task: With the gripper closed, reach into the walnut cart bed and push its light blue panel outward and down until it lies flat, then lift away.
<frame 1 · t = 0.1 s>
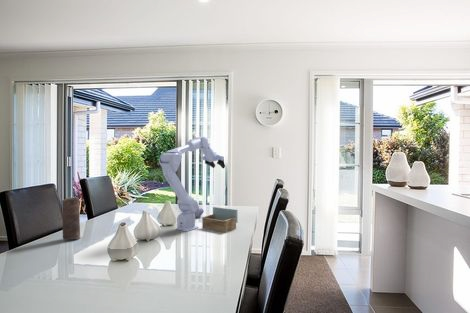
hand: (219, 167, 189), 32 cm above the table, tool tilted 50°, fingers open, 7 cm apart
flower: (195, 218, 193), on the table
light blue panel: (224, 214, 171), point 6 cm above the table, hinge at 0.0°
cart bed: (219, 228, 166), on the table
candle: (71, 239, 147), on the table
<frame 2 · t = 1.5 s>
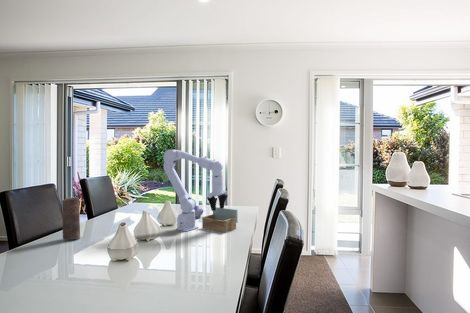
hand: (217, 209, 165), 11 cm above the table, tool pointing down, fingers open, 7 cm apart
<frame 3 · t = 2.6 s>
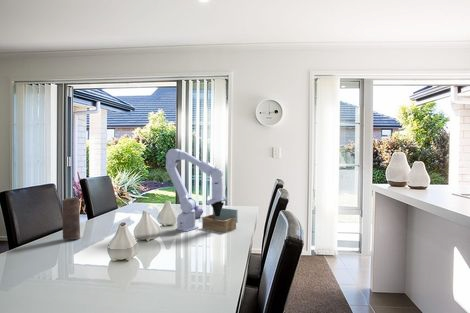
hand: (217, 216, 165), 7 cm above the table, tool pointing down, fingers closed
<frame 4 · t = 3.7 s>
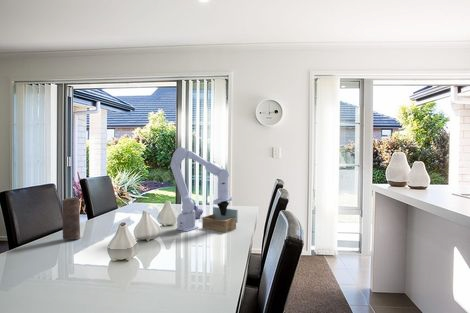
hand: (223, 215, 169), 6 cm above the table, tool pointing down, fingers closed, pressing on light blue panel
light blue panel: (224, 214, 171), point 6 cm above the table, hinge at 0.4°, touching gripper
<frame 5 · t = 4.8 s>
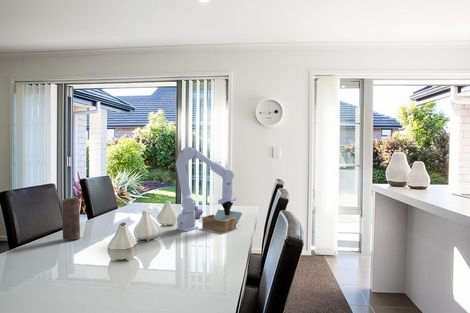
hand: (227, 215, 173), 6 cm above the table, tool pointing down, fingers closed, pressing on light blue panel
light blue panel: (227, 216, 173), point 5 cm above the table, hinge at 46.1°, touching gripper
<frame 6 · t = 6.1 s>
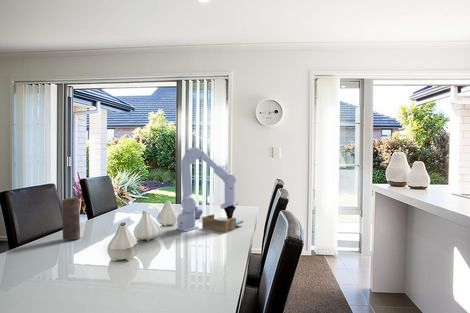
hand: (229, 219, 175), 3 cm above the table, tool pointing down, fingers closed
light blue panel: (227, 221, 173), point 2 cm above the table, hinge at 89.9°
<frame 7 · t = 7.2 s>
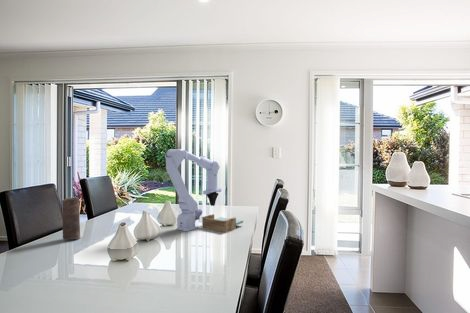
hand: (212, 205, 177), 10 cm above the table, tool pointing down, fingers closed
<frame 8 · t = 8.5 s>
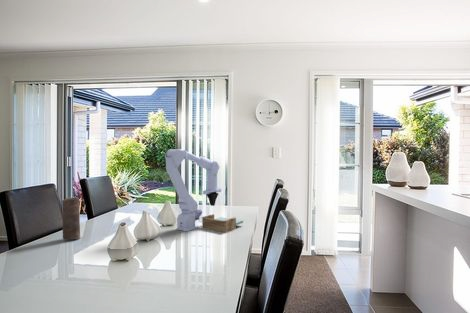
hand: (212, 205, 177), 10 cm above the table, tool pointing down, fingers closed
at the end: light blue panel at +90° (first picture: +0°); flower moved 3.9 cm from its start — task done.
